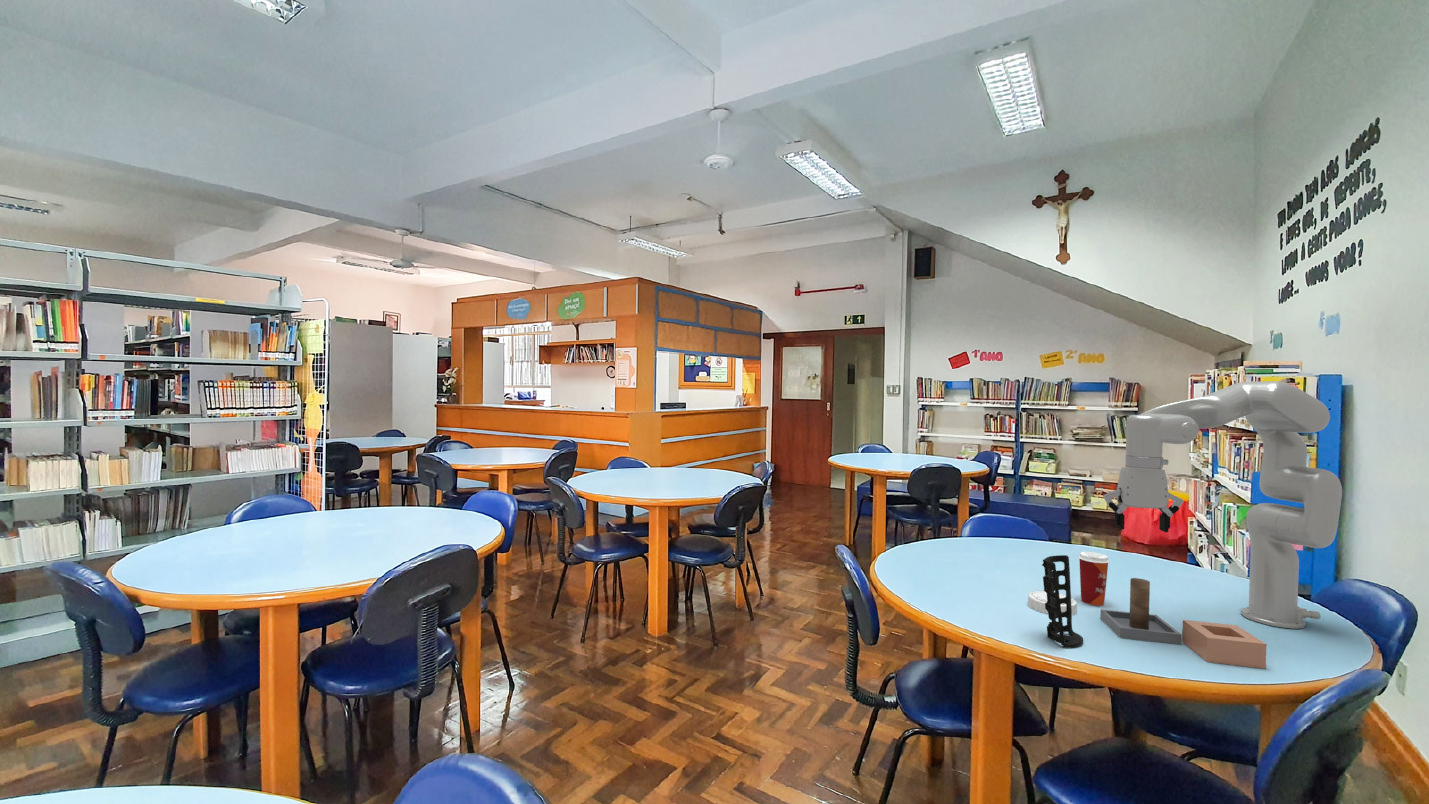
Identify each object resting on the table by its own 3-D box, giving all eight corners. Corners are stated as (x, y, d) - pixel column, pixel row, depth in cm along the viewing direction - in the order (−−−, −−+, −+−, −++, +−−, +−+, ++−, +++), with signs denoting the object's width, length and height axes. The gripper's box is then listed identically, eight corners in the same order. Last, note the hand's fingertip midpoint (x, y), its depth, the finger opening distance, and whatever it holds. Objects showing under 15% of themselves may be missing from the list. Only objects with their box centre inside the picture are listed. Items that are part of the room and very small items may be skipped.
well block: (1235, 647, 139) (1236, 625, 139) (1265, 668, 128) (1266, 644, 128) (1182, 641, 142) (1182, 619, 142) (1206, 661, 131) (1207, 637, 131)
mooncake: (1081, 620, 156) (1082, 606, 156) (1031, 613, 160) (1032, 600, 160) (1071, 604, 167) (1071, 592, 167) (1024, 599, 171) (1024, 587, 171)
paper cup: (1107, 609, 163) (1108, 560, 163) (1075, 603, 168) (1077, 555, 168) (1109, 601, 169) (1110, 554, 169) (1078, 595, 174) (1079, 549, 174)
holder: (1083, 651, 135) (1076, 565, 136) (1046, 646, 139) (1039, 562, 140) (1083, 635, 144) (1076, 554, 145) (1048, 631, 148) (1041, 553, 149)
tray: (1156, 624, 153) (1156, 615, 153) (1181, 644, 140) (1181, 634, 140) (1100, 618, 156) (1100, 609, 156) (1119, 637, 144) (1120, 627, 144)
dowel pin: (1144, 625, 150) (1145, 579, 150) (1151, 631, 146) (1152, 583, 146) (1126, 623, 151) (1127, 577, 151) (1133, 629, 147) (1134, 582, 147)
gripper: (1175, 463, 149) (1174, 529, 149) (1099, 460, 154) (1097, 524, 154) (1191, 466, 142) (1189, 535, 142) (1110, 463, 146) (1108, 530, 147)
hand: (1141, 529), depth 148 cm, fingers open, 9 cm apart
